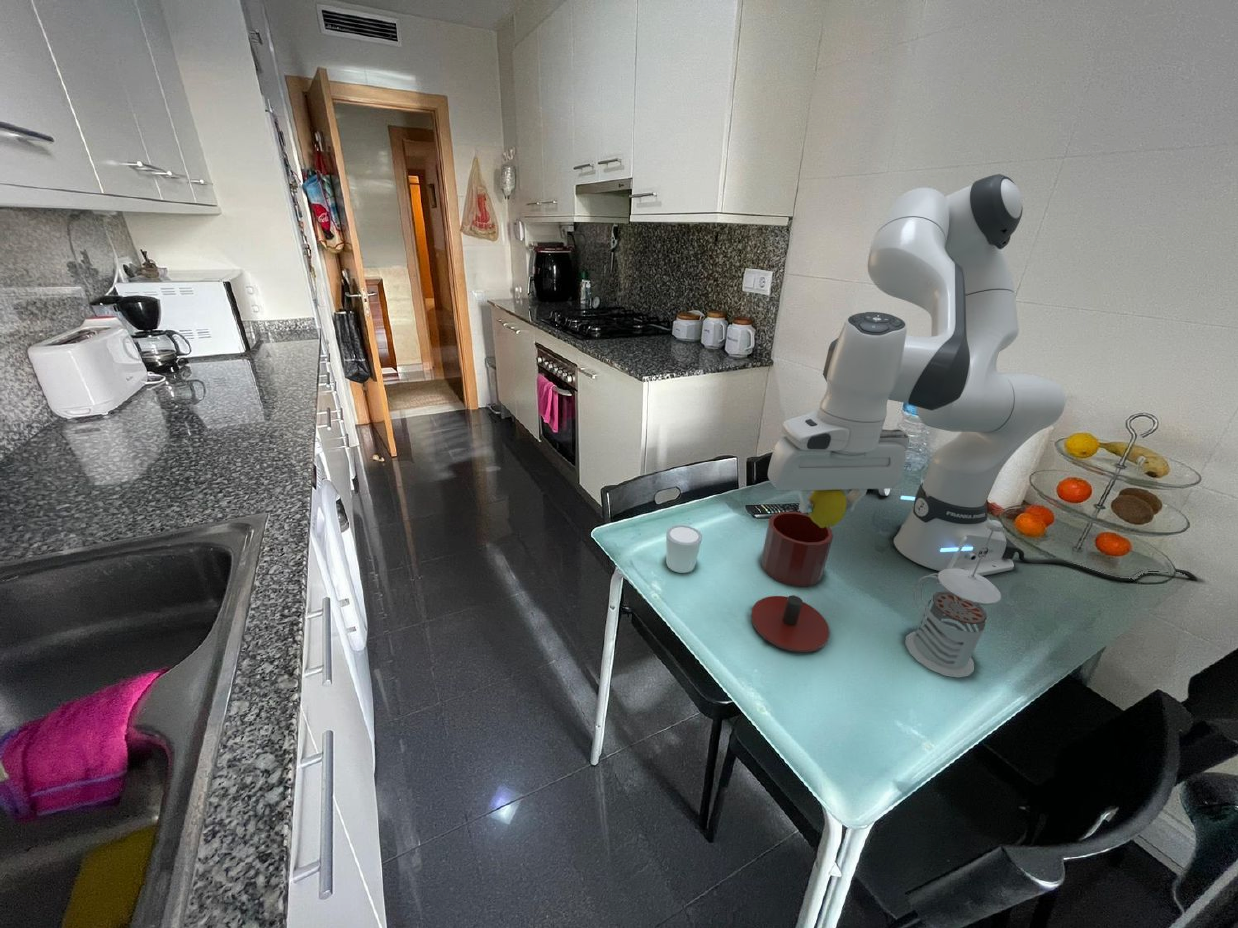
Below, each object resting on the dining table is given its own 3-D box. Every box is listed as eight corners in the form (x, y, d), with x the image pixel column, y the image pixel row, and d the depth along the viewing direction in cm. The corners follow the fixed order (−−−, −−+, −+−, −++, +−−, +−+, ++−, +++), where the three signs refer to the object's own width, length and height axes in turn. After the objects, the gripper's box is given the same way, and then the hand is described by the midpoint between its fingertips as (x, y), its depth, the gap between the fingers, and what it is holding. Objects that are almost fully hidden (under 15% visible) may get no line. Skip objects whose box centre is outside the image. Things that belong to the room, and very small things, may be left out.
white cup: (657, 557, 100) (660, 528, 97) (686, 550, 103) (690, 522, 100) (673, 578, 95) (677, 547, 92) (704, 570, 97) (709, 540, 94)
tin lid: (791, 594, 92) (798, 569, 90) (844, 642, 82) (853, 615, 79) (735, 611, 87) (740, 585, 85) (784, 664, 77) (791, 636, 74)
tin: (805, 549, 105) (815, 511, 101) (832, 585, 95) (844, 544, 91) (752, 550, 104) (760, 511, 100) (773, 587, 94) (783, 545, 89)
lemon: (842, 539, 77) (856, 494, 74) (805, 534, 78) (817, 490, 75) (835, 520, 82) (847, 477, 79) (800, 516, 83) (811, 473, 79)
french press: (947, 685, 75) (1011, 547, 64) (882, 632, 84) (929, 504, 74) (988, 666, 79) (1056, 533, 68) (922, 617, 88) (972, 493, 77)
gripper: (899, 421, 77) (874, 498, 83) (772, 422, 74) (757, 501, 80) (926, 438, 71) (897, 519, 77) (790, 439, 69) (772, 523, 75)
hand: (825, 510), depth 79 cm, fingers closed on lemon, 5 cm apart
